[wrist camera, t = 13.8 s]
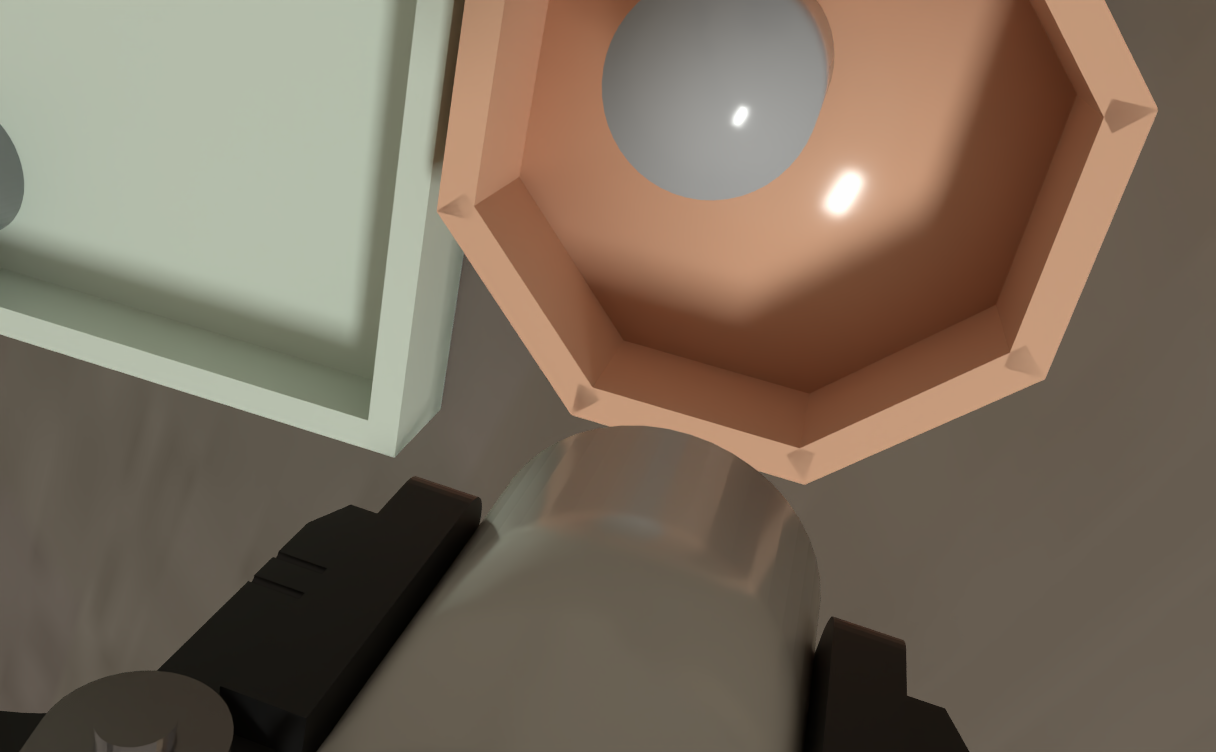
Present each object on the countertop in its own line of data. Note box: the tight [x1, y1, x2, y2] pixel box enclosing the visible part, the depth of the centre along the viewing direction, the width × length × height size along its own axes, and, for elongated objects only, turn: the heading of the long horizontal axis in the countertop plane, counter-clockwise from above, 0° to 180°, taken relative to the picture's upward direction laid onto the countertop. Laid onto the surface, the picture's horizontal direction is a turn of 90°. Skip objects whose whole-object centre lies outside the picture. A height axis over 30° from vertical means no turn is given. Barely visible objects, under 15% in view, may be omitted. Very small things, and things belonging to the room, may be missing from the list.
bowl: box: [437, 0, 1158, 485], centre depth 22 cm, size 13×13×4 cm
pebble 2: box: [602, 0, 835, 200], centre depth 20 cm, size 4×4×5 cm
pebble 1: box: [317, 425, 821, 752], centre depth 10 cm, size 4×4×5 cm
